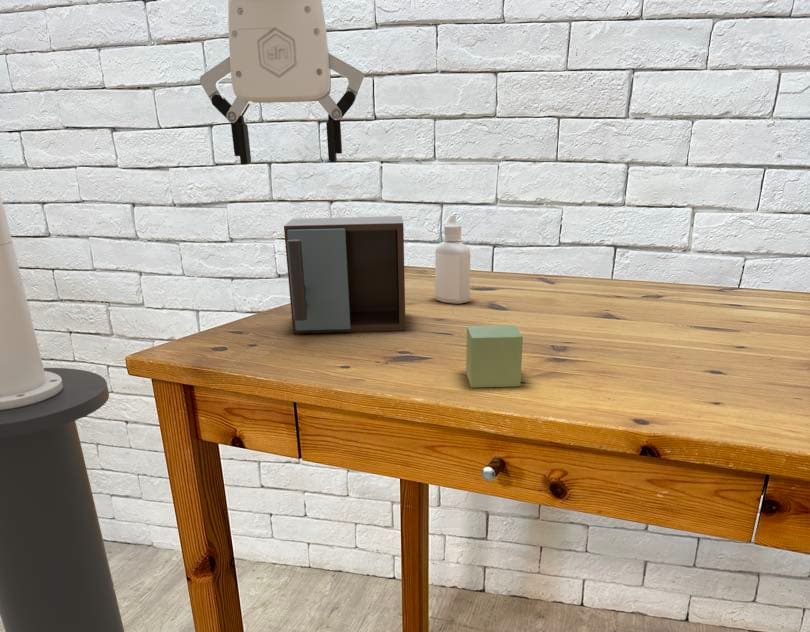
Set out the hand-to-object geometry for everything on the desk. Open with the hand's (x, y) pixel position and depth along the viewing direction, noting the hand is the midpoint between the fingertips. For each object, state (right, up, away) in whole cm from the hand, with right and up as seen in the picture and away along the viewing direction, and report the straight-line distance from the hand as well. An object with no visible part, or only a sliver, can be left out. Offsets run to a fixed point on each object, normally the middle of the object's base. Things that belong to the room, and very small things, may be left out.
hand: (289, 162), depth 85 cm
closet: (+5, -13, +19) cm, 23 cm away
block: (+22, -25, -6) cm, 34 cm away
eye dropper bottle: (+20, -6, +31) cm, 38 cm away
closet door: (+2, -16, +11) cm, 20 cm away
